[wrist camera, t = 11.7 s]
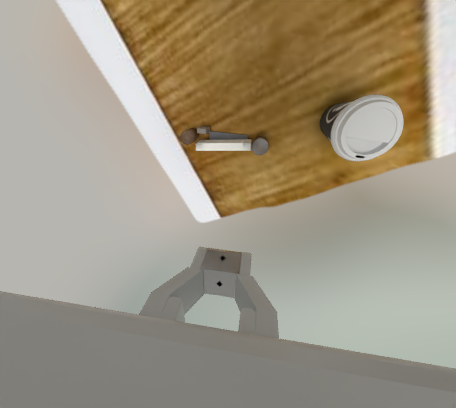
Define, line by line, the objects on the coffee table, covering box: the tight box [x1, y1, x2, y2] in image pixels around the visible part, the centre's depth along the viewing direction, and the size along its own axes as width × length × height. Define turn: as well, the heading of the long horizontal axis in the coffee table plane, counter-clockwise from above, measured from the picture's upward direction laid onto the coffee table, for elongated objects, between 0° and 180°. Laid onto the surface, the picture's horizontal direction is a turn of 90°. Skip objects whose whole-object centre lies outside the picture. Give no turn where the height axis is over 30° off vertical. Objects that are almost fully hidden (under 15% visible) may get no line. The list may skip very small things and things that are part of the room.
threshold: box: [209, 131, 248, 140], centre depth 46 cm, size 2×9×1 cm, turn 85°
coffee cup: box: [320, 95, 403, 161], centre depth 35 cm, size 10×10×15 cm
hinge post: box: [252, 136, 268, 155], centre depth 43 cm, size 3×3×5 cm
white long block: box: [196, 139, 251, 151], centre depth 44 cm, size 12×2×4 cm, turn 92°
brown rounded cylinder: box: [180, 126, 210, 145], centre depth 45 cm, size 4×5×5 cm, turn 86°
